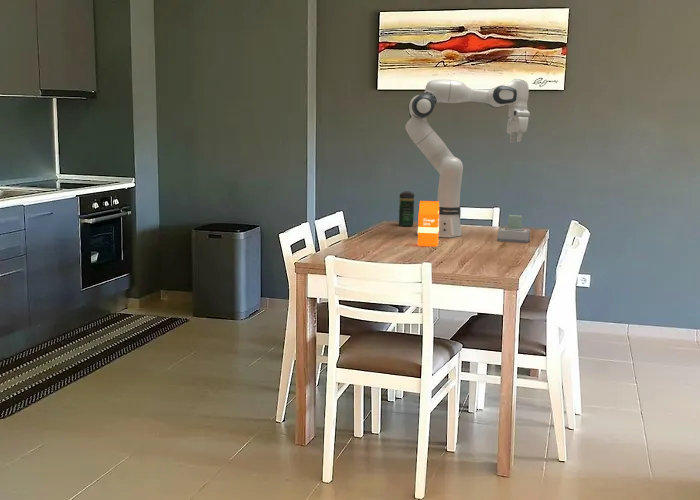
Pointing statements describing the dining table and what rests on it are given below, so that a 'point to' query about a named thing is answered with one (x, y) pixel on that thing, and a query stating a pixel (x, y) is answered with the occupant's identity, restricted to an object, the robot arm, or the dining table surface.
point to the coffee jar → (406, 209)
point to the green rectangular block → (514, 222)
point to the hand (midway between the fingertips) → (515, 142)
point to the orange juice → (428, 223)
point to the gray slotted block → (513, 235)
